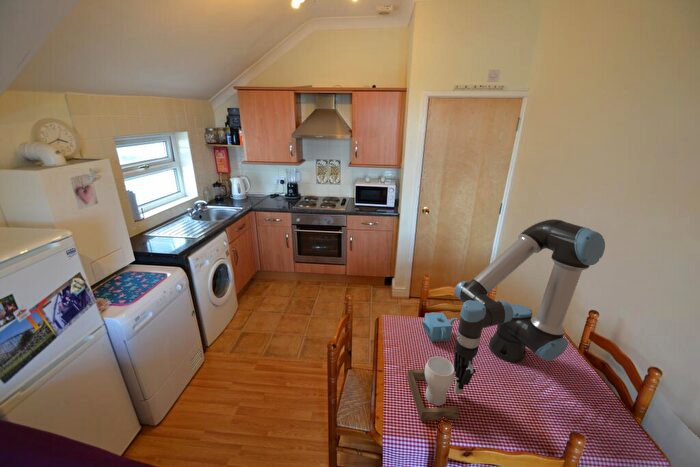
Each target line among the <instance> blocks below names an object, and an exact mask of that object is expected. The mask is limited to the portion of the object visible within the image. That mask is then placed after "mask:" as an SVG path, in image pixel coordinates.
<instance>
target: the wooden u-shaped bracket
mask: <svg viewBox="0 0 700 467" xmlns="http://www.w3.org/2000/svg"><path fill="white" fill-rule="evenodd" d="M424 372H425V368H423V369H408V370H407V373H406V379H407V383H408V385H409V388H410V392H411V395H412V399H413V401H414V405H415V406H416V407H415V408H416V411H417V414H418V416H419V419H420V421H421V422H425V421H440V420H439V419H440V418H443V417H444V418H447V419H449V420H458V419H459V417H460V412H461V410H460V408H459V407H458V406H448V407H447V406H446V407H445V406H444V407H428V408H425V405H424V402H423V399H422V396H421V393H420V390H419V388H418V384H417V382H416V381H426V378H425V373H424Z"/></svg>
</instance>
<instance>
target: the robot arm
mask: <svg viewBox="0 0 700 467" xmlns="http://www.w3.org/2000/svg"><path fill="white" fill-rule="evenodd" d="M605 241H606V240H605V239H604V236H603V235H602V234H601V233H600V232H598V231H595V230H593V229H591V228H588V227H585V226H581V225H579V224H574V223H570V222H566V221H564V220H561V219H553V218H552V219H546V220H545V219H544V220H542V221H539V222H537V223H534V224H533V225H531V226H529V227H527V228H526V229H524V230H523V231H521V233H519V234H518V236H517V240H515V242H513V243H512V244H511V245H510V246H509V247H508V248H506V250H504V251H503V252H502V253H501V254H500V255H498V256H497V257H496V258H495V259H494V260H493V261H492V262H491V263H490V264H489V265H487V266H486V267H485V268H484V269H483V270H481V271H480V272H479V273H478V274H477V275H476V276H475V277H474V278H472V280H470V281H467V280H462V281H460V282H458V283H457V284H456V285H455V288H454V294H455V296H456V297H457V298H458V299H459V300H460V301H461V302H462V303H463V304H462V306H461V310H460V313H459V321H458V328H457V334H456V339H455V344H454V346H453V349H454V359H453V360H454V361H453V366H454V370H455V380H454V382H455V384H454V388H453V392H454V395H462V394H463V393H464V388H465V386H469V385H470V382H471V380H472V378H473V375H474V374H476V373H477V370H476V369H475V368H474V367H473V364H474V363H473V361H474V358H475V357H476V356H477V355H478V351H479V347H480V346H479V345H480V342H481V337H482V332H483V329H486V328H489V327H493V326H497V327H496V330H495V331H496V332H494V334H493V335H492V336H491V338H490V339H489V343H488V348H489V350H490V351H491V353H493V355H495V356H496V357H498V358H499V359H501V360H504V361H506V362H510V363H520V362H522V361H524V360H525V358H526V355H527V351H526V348H527V349H528V350H530V351H531V352H533V353H534V354H535V356H538V357H539V358H540V359H541V360H544V361H548V362H550V361H553V360H556V359H557V358H559V357H560V356H561V355H562V354H564V352H565V351H566V350H567V349H568V346H569V342H568V340H567V338H565V337H564V334H565V332H566V330H565V327H564V326H563V324H564V321H565V318H566V315H567V313H568V311H569V310H568V309H569V307H570V304H571V301H572V299H573V296H574V294H575V292H576V288H577V285H578V283H579V280H580V277H581V276H582V275H581V274H582V271H585V270H587V269H589V268H590V267H591V266H593V265H596V264H597V263H598V262H599V261H600V259H602V257H603V256H604V253H605V249H606V242H605ZM544 249H548V250H550V251H552V254H551V257H550V258H551V260H552V261H553V266H552V269H551V272H550V275H549V278H548V281H547V284H546V287H545V290H544V293H543V297H542V299H541V302H540V305H539V308H538V311H537V314H536V315H535V316H533V311H532V309H531V308H530V307H527V306H525V305H523V304H519V303H509V302H507V301H506V300H497V301H496V300H495V299H493V298H491V297H490V296H488V294H489V293H490V292H492V290H493V289H495V288H496V287H497V286H498V285H500V283H502V282H503V281H504V280H505V279H506V278H507V277H508V276H510V275H511V274H512V273H513V272H514V271H515V270H516V269H518V268H519V267H520V266H521V265H522V264H523V263H524V262H525V261H526V260H528V259H529V258H530V257H531V256H533V254H538V253H540V252H541V251H542V250H544Z"/></svg>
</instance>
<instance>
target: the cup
mask: <svg viewBox="0 0 700 467" xmlns="http://www.w3.org/2000/svg"><path fill="white" fill-rule="evenodd" d="M424 369H425V372H424V373H425V378H426V380H425V381H426V383H427V388H426V390H425V394H424V395H425V399H426V400H427V401H428V403H430V404H432V405H433V406H443V405H445V404H446V402H447V391H448V390H449V389H450V388H451V387H452V386H453V384H454V382H455V380H456V375H455V374H456V372H455V370H454V363H453V362H451V360H449V359H448V358H446V357H443V356H431V357H429V359H428V360H427V362H426V364H425V366H424Z"/></svg>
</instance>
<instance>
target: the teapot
mask: <svg viewBox="0 0 700 467" xmlns="http://www.w3.org/2000/svg"><path fill="white" fill-rule="evenodd" d="M457 320H458V317H452V318H451V319H450V320H449V319H448V318H447V316H446V315H445V314H444V312H431V313H425V314H424V321H421V322H420V324H421V325H422V326H423V328H424V332H425V333H426V334H427V336H428V338H429V340H430V342H433V343H434V342H446V341H447V342H450V341H451V335H452V329H453V324H454V323H455V321H457Z"/></svg>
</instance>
